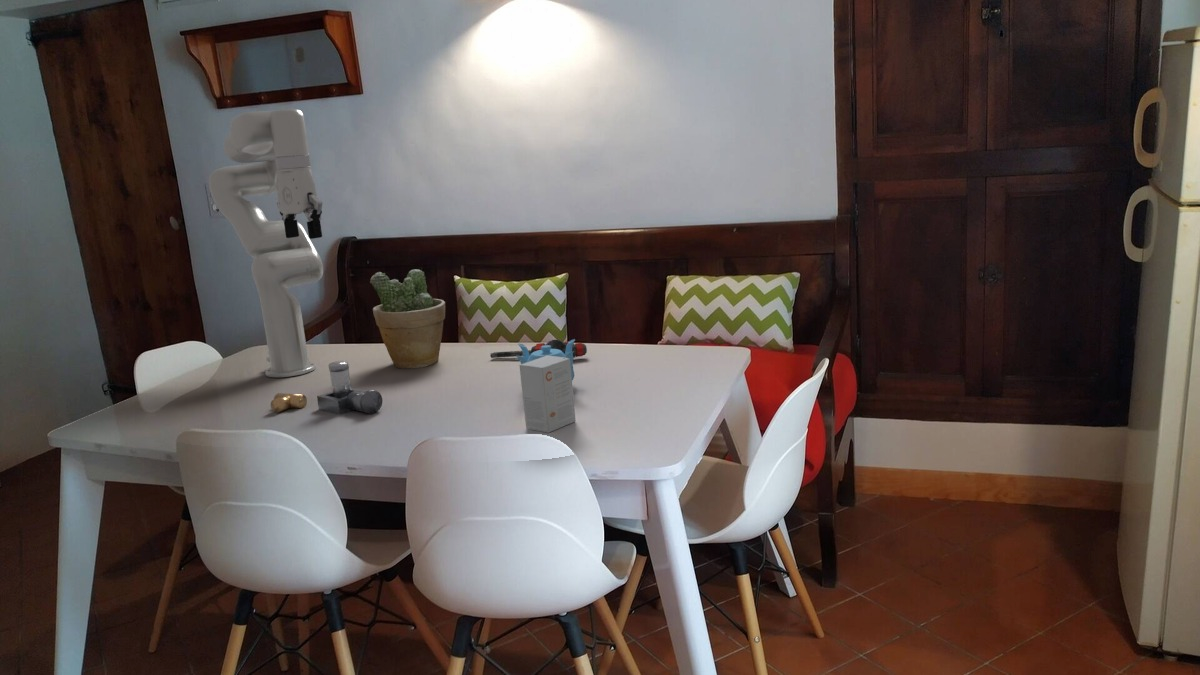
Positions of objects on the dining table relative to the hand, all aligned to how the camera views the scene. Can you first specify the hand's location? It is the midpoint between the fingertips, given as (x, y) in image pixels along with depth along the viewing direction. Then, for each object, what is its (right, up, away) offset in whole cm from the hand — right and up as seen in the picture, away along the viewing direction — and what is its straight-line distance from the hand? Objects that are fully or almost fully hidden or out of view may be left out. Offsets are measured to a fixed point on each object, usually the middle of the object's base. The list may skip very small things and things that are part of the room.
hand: (304, 237), depth 220 cm
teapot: (+59, -35, -11) cm, 70 cm away
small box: (+60, -41, -37) cm, 82 cm away
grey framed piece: (+16, -39, -15) cm, 45 cm away
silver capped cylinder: (+13, -39, -12) cm, 43 cm away
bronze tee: (-1, -40, -10) cm, 41 cm away
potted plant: (+22, -30, +24) cm, 44 cm away
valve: (+55, -29, +20) cm, 65 cm away
